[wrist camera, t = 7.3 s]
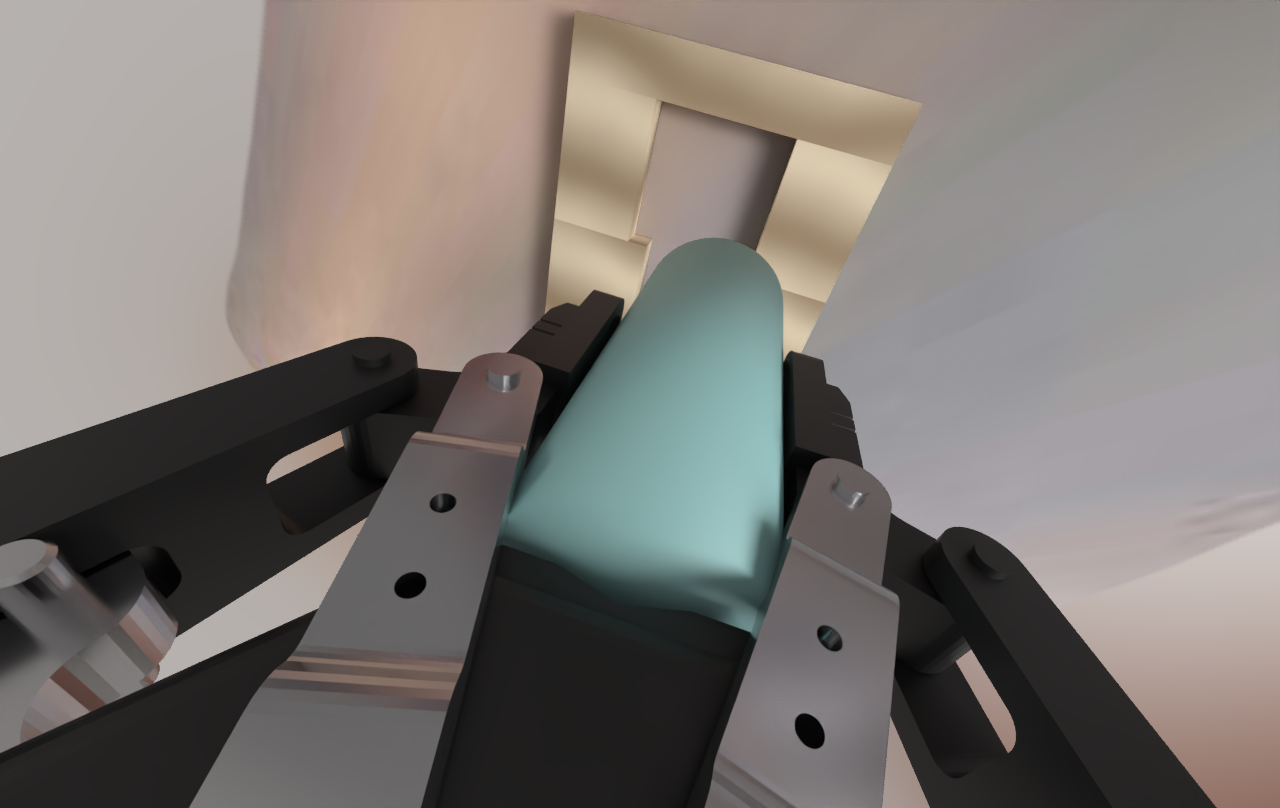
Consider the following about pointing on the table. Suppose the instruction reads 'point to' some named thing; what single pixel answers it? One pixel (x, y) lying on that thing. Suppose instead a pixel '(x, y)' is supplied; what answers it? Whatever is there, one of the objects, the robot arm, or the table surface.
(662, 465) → the peg
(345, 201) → the table surface
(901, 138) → the keyhole board
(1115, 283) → the table surface
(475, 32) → the table surface
